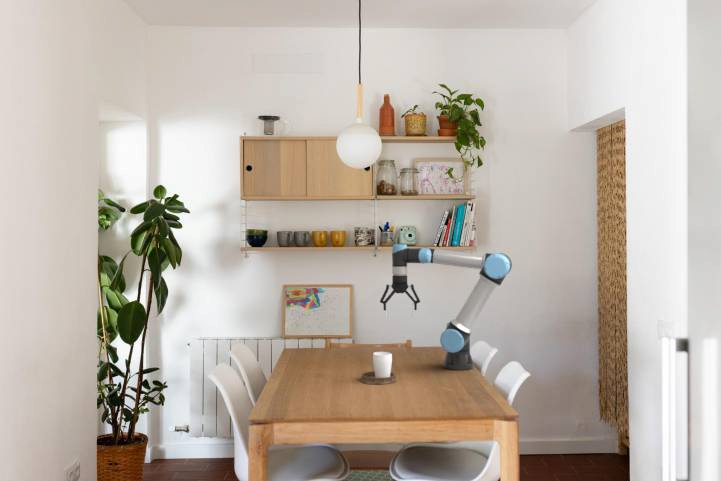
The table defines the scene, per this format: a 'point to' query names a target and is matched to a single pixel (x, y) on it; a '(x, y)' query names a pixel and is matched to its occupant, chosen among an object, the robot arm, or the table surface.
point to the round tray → (370, 378)
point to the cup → (382, 364)
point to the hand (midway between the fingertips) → (400, 316)
